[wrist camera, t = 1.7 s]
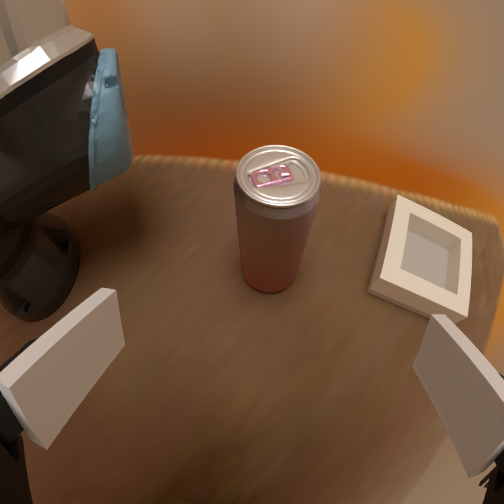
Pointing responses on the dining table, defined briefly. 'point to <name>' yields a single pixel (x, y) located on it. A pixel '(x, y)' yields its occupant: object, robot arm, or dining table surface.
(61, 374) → the robot arm
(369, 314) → the dining table surface
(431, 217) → the holder
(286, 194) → the beverage can
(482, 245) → the dining table surface
